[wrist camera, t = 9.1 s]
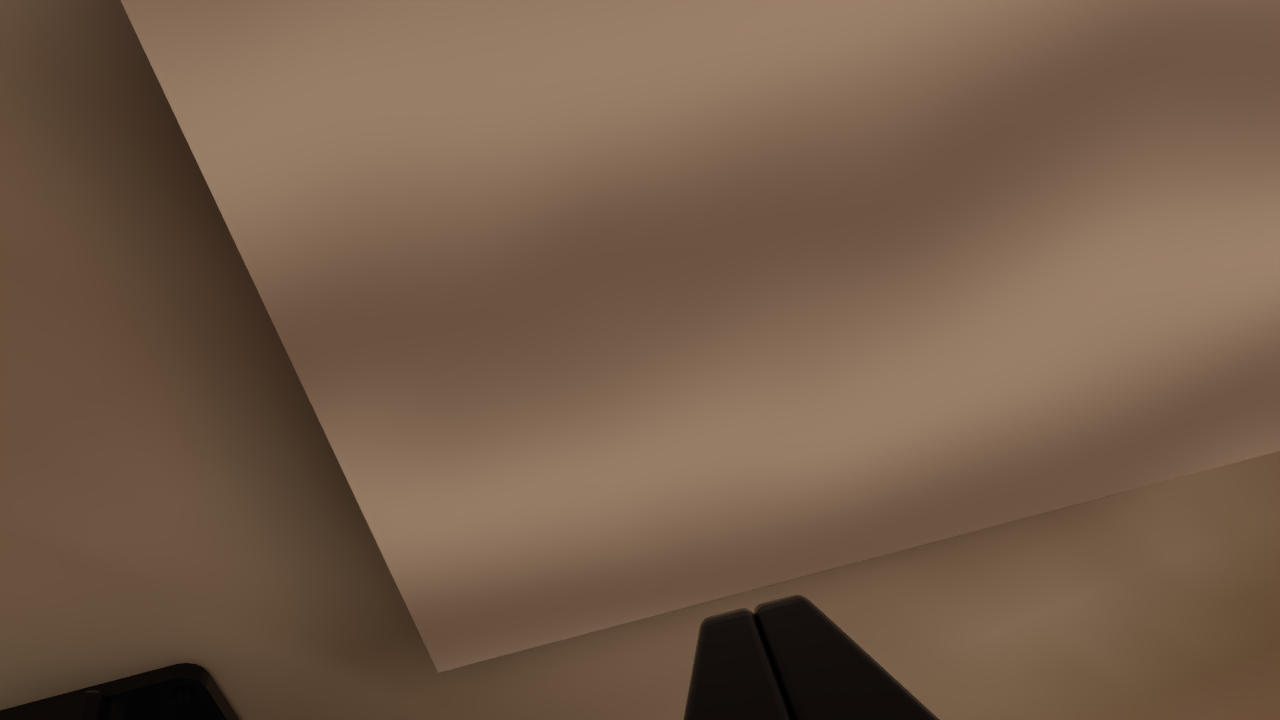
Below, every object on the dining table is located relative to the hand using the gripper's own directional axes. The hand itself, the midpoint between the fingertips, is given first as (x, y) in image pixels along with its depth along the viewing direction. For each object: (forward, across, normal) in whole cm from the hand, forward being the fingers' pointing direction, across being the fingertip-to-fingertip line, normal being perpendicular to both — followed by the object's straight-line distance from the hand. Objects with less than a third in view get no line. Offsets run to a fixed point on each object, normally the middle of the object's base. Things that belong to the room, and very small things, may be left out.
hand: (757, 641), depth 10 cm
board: (+12, -3, +1) cm, 13 cm away
